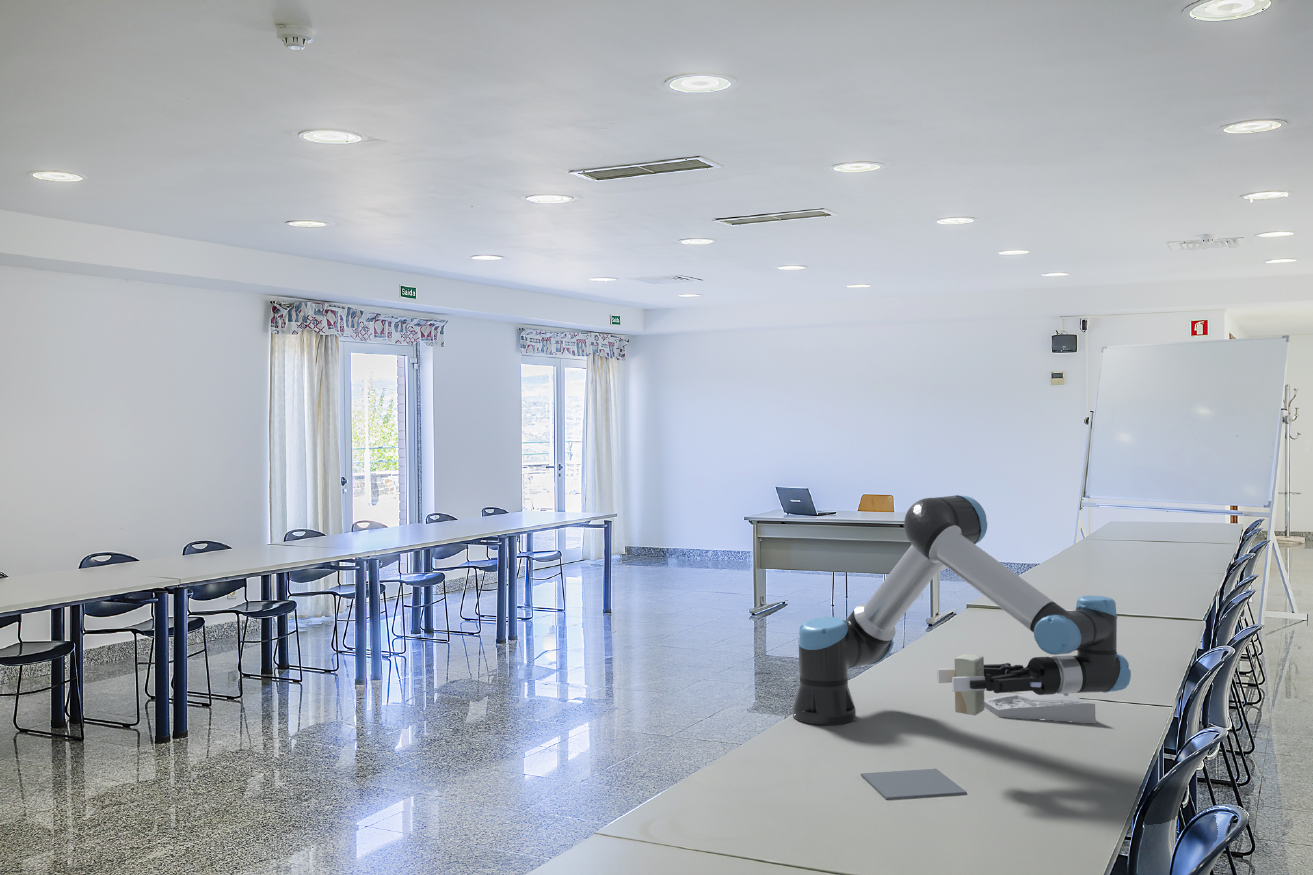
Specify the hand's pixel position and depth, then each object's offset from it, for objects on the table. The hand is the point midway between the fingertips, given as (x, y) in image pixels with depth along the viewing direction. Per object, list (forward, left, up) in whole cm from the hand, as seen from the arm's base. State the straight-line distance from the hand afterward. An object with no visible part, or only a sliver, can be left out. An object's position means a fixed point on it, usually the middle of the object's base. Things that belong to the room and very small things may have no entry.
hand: (945, 680), depth 205 cm
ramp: (-38, +40, -20) cm, 59 cm away
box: (0, +5, -7) cm, 8 cm away
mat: (+4, -9, -19) cm, 21 cm away
